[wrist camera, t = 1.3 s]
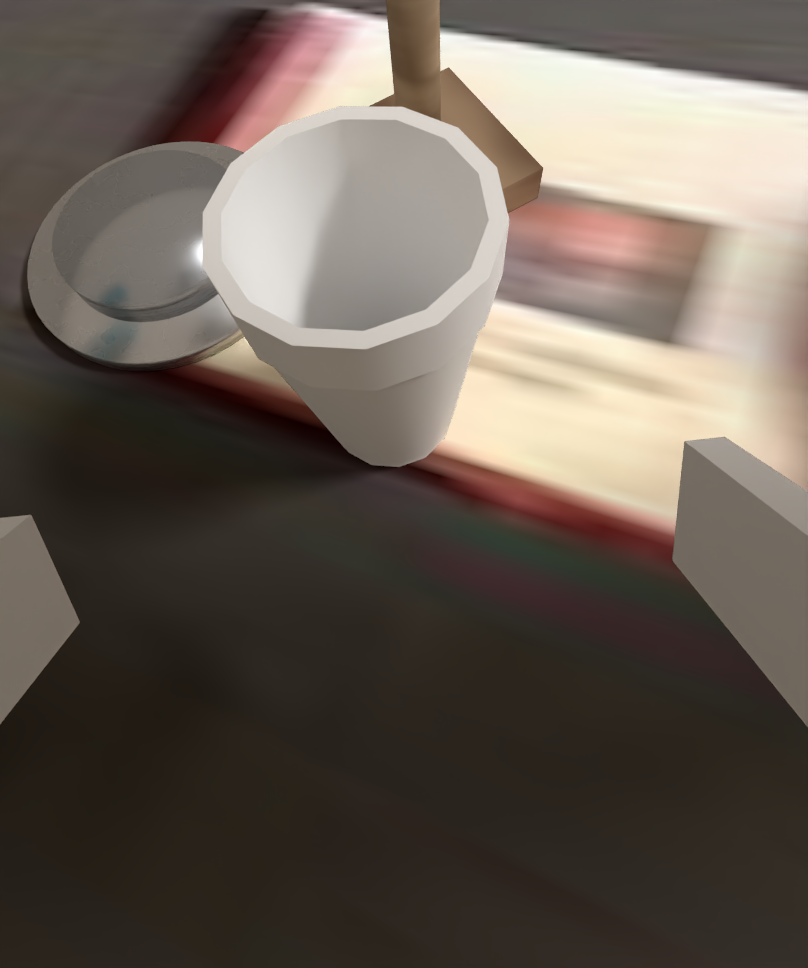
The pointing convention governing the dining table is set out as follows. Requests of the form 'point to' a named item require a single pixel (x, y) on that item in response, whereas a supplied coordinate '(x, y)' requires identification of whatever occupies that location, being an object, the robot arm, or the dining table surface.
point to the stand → (451, 97)
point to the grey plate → (134, 261)
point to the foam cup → (362, 268)
